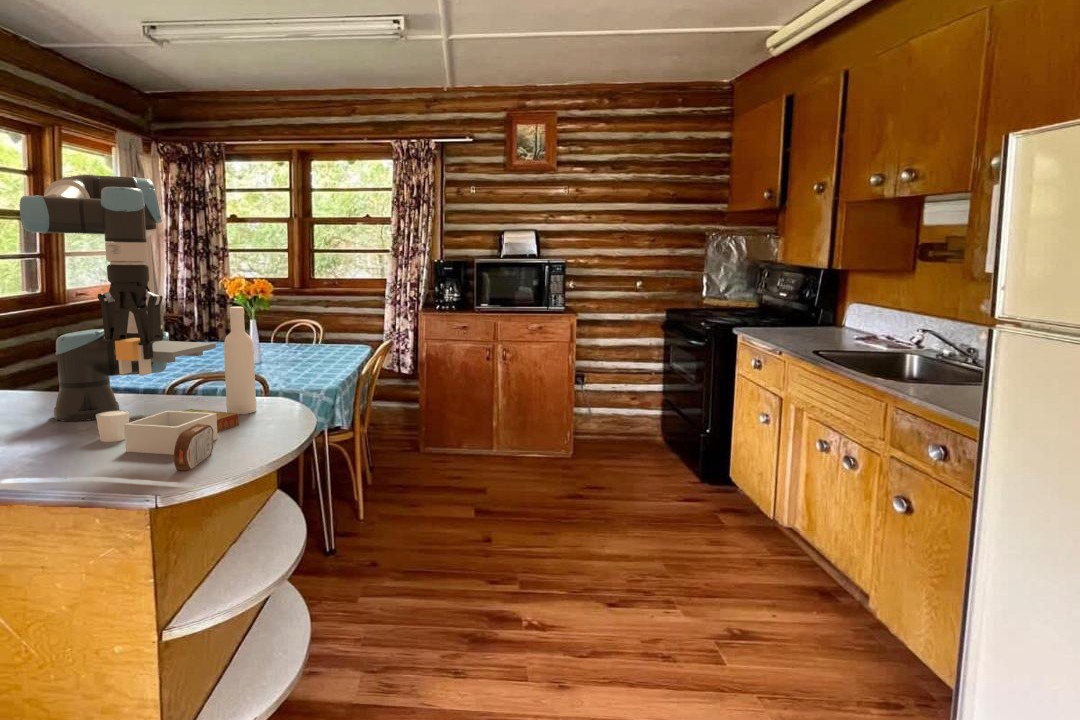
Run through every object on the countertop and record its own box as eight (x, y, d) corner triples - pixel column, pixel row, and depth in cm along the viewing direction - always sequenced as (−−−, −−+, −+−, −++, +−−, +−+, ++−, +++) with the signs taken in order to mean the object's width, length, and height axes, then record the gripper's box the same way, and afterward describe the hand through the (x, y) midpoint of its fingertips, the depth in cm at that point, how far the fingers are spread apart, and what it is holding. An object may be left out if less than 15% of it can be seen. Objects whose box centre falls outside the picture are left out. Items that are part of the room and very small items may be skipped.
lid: (95, 365, 145) (93, 339, 144) (162, 351, 165) (161, 329, 164) (155, 369, 143) (153, 342, 142) (216, 354, 163) (214, 331, 162)
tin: (202, 455, 154) (200, 419, 153) (217, 455, 154) (215, 419, 153) (173, 477, 139) (170, 436, 138) (189, 477, 139) (186, 436, 138)
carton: (215, 436, 171) (214, 419, 170) (165, 430, 176) (164, 414, 175) (239, 428, 179) (238, 412, 178) (191, 423, 184) (190, 407, 183)
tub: (126, 454, 153) (124, 424, 152) (168, 438, 167) (167, 410, 166) (179, 458, 151) (177, 427, 150) (217, 441, 165) (216, 413, 164)
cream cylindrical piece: (100, 439, 166) (98, 411, 164) (133, 436, 168) (131, 409, 167) (95, 446, 159) (92, 417, 158) (129, 444, 162) (127, 415, 161)
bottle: (233, 408, 200) (228, 305, 196) (260, 408, 200) (256, 306, 196) (222, 414, 192) (216, 307, 188) (250, 415, 193) (245, 308, 188)
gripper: (76, 262, 140) (86, 375, 144) (151, 264, 138) (159, 379, 142) (104, 262, 148) (113, 369, 152) (176, 264, 145) (183, 372, 149)
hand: (135, 373), depth 147 cm, fingers closed on lid, 4 cm apart
